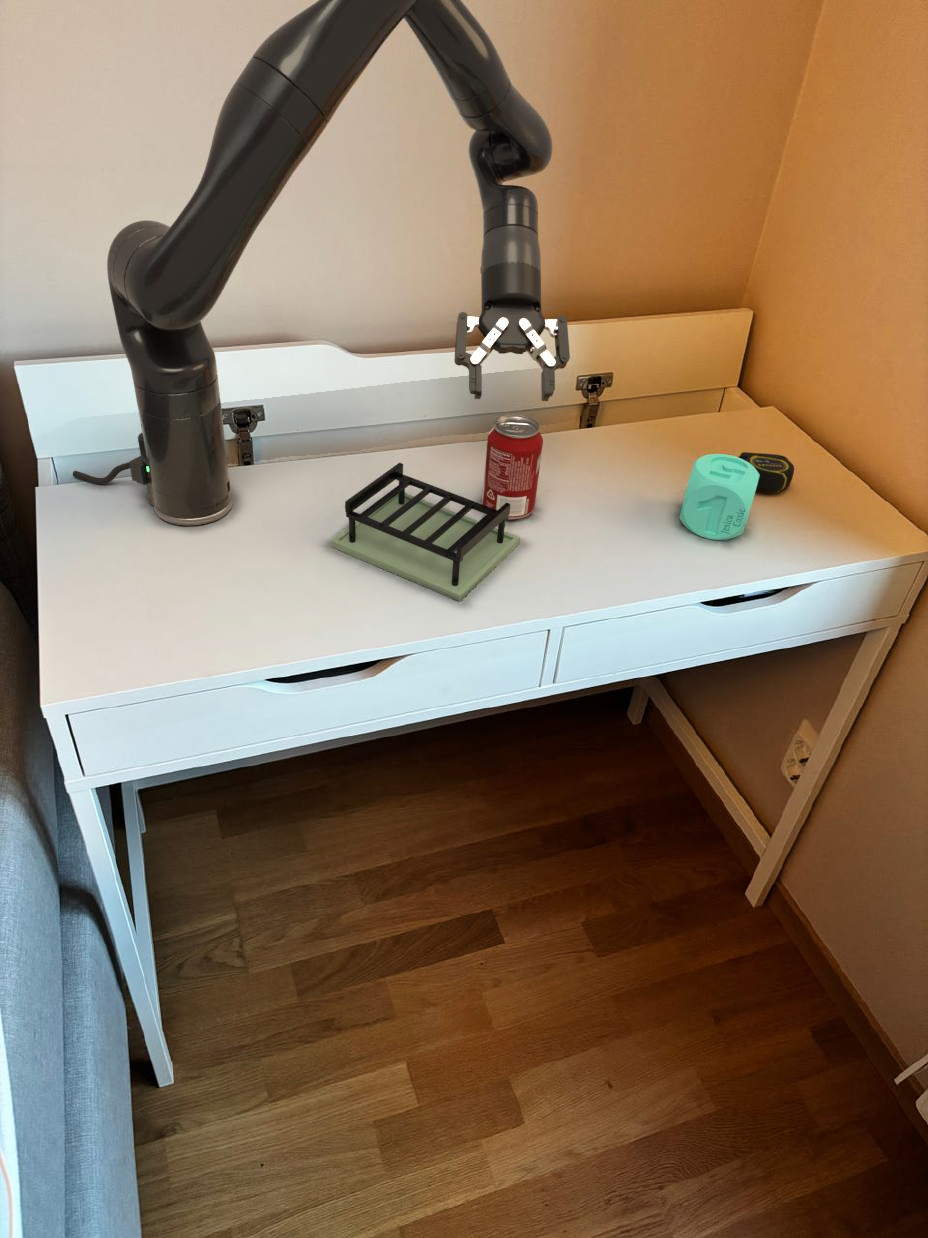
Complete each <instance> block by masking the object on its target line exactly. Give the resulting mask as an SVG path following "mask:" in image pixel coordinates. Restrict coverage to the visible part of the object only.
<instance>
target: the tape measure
mask: <svg viewBox="0 0 928 1238" xmlns="http://www.w3.org/2000/svg"><path fill="white" fill-rule="evenodd" d="M737 457H738V458H741V459H743V460H745V461H747V462H749V463H750V464H751V465H753V466H754V467H755V469H756V470H757V471H758V473H759V475H760V476H759V480H758V484H757V487H756V491H759V492H763V493H768V494H769V493H771V494H773V493H782V492H784V491H786V490H788V488H790V485H791V483H792V480H793V477H794V473H795V465H794V464H793V463H792V462H791V461H790V460H789V458H788V457H786V456H785V455H781V454H775V453H774V454H773V453H764V452H763V453H761V452H749V451H747V452H745V451H744V452H741V453H740V455H738V456H737Z"/></svg>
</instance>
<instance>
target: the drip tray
mask: <svg viewBox="0 0 928 1238" xmlns="http://www.w3.org/2000/svg"><path fill="white" fill-rule="evenodd" d="M413 497H415V496H414V495H412V494H409V493H407V492H405V503H404V504H406V503H407V502H408V501H409V500H411V499H412V498H413ZM404 504H403V505H404ZM403 505H400V504H399V503H398V494H397V495H396V496H395V497H393V498H392V499H391V500H389V501H388V502H387V503H385V504H384V505H383V506H381V507H380V508H379V509H378V510H376V511H375V512H374V513H372V514H371V515H370V516H368V518H371V519H373V520H376V521H378V522H382V521H384V520H385V519H386V518H388V517H389V516H390V515H391V514H393V513H394V512H395V511H397V510H398V509H399V508H400V507H402V506H403ZM435 505H436V504H435V503H432V502H429V501H428V500H425V499H422V500H420V501H419V502H418V503H417V504H415V505H414V506H413V507H412V508H410V509H409V510H408V511H407V512H405V513H404V514H403V515H402V516H400V517H399V518H398V519H396V520H395V521H394V522H393V523H391V524H390V525H389V526H391V527H393V528H395V529H398V530H400V531H404V530H405V529H406V528H407V527H409V526H410V525H411V524H412V523H414V522H415V521H416V520H417V519H418V518H420V517H421V516H422V515H423V514H425V513H426V512H427V511H428V510H430V509H431V508H432V507H433V506H435ZM456 513H457V512H455V511H453V510H451V509H448V508H445V507H443V508H442V509H440V510H439V511H438V512H437V513H436V514H434V515H433V516H432V517H431V518H429V519H428V520H427V521H426V522H425V523H423V524H422V525H421V526H420V527H419V528H417V529H416V530H415V531H414V532H412V533H411V534H410V535H413V536H415V537H418V538H420V539H423V540H426V539H427V538H428V537H429V536H430V535H432V534H433V533H434V532H435V531H436V530H437V529H439V528H440V527H441V526H442V525H443V524H444V523H446V522H447V521H448V520H449V519H450V518H452V517H453V516H454V515H455V514H456ZM479 521H480V520H476V519H473V518H471V517H468V516H466V515H465V516H463V517H462V518H461V519H460V520H459V521H458V522H456V523H455V524H454V525H453V526H452V527H451V528H449V529H448V530H447V531H446V532H445V533H444V534H442V535H441V536H440V537H439V538H438V539H437V540H435V541H434V542H433V543H432V544H435V545H437V546H440V547H442V548H445V549H448V548H449V547H450V546H452V545H453V544H454V543H455V542H456V541H457V540H458V539H459V538H461V537H462V536H463V535H464V534H465V533H466V532H467V531H468V530H470V529H471V528H472V527H473V526H474V525H475V524H476V523H478V522H479ZM497 533H498V527H495V528H494V529H493V530H492V531H491V532H490V533H489V534H488V535H486V536H485V537H484V538H483V539H482V540H481V541H480V542H479V543H478V544H477V545H476V546H474V547H473V548H472V549H471V550H470V551H469V552H468V553H467V554H466V555H465V556H464V557H463V560H462V561H461V562H460V570H459V584H458V586H453V585H452V584H451V583H452V568H453V561H452V560H450V559H448V558H445V557H443V556H440V555H438V554H435V553H433V552H431V551H428V550H426V549H423V548H421V547H418V546H416V545H413V544H411V543H409V542H406V541H404V540H401V539H399V538H396V537H394V536H392V535H389V534H387V533H384V532H382V531H379V530H377V529H374V528H372V527H370V526H367V525H365V524H362V523H360V522H357V521H356V541H355V542H354V543H351V542H349V526H348V527H347V528H346V529H344V530H343V531H342V532H340V533H339V534H337V535H336V536H335V537H334V538H332V539H331V540H330V542H331V545H330V546H331V548H333V549H335V550H338V551H340V552H342V553H345V554H347V555H349V556H352V557H354V558H356V559H359V560H360V561H361V560H362V561H363V562H366V563H368V564H370V565H373V566H375V567H377V568H380V569H382V570H385V571H387V572H389V573H391V574H394V575H396V576H398V577H401V578H403V579H405V580H408V581H410V582H412V583H415V584H417V585H419V586H422V587H424V588H427V589H428V590H431V591H433V592H435V593H438V594H440V595H443V596H444V597H447V598H449V599H452V600H455V601H457V602H459V603H461V601H462V600H463V599H465V597H467V596H468V595H469V594H470V593H471V592H472V591H473V590H474V589H475V588H476V587H477V586H478V585H479V584H480V583H481V582H482V581H483V580H485V578H486V577H487V576H489V574H490V573H491V572H492V571H493V570H495V568H497V566H498V565H499V564H501V562H502V561H504V560H505V559H506V558H507V557H508V556H509V555H510V554H511V553H512V552H513V551H514V550H515V549H516V548H517V547H518V546H519V544H520V542H521V541H520V540H521V537H520V536H517V535H514V534H512V533H510V532H507V531H505V530H504V539H503V543H497ZM455 553H456V552H455Z"/></svg>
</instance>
